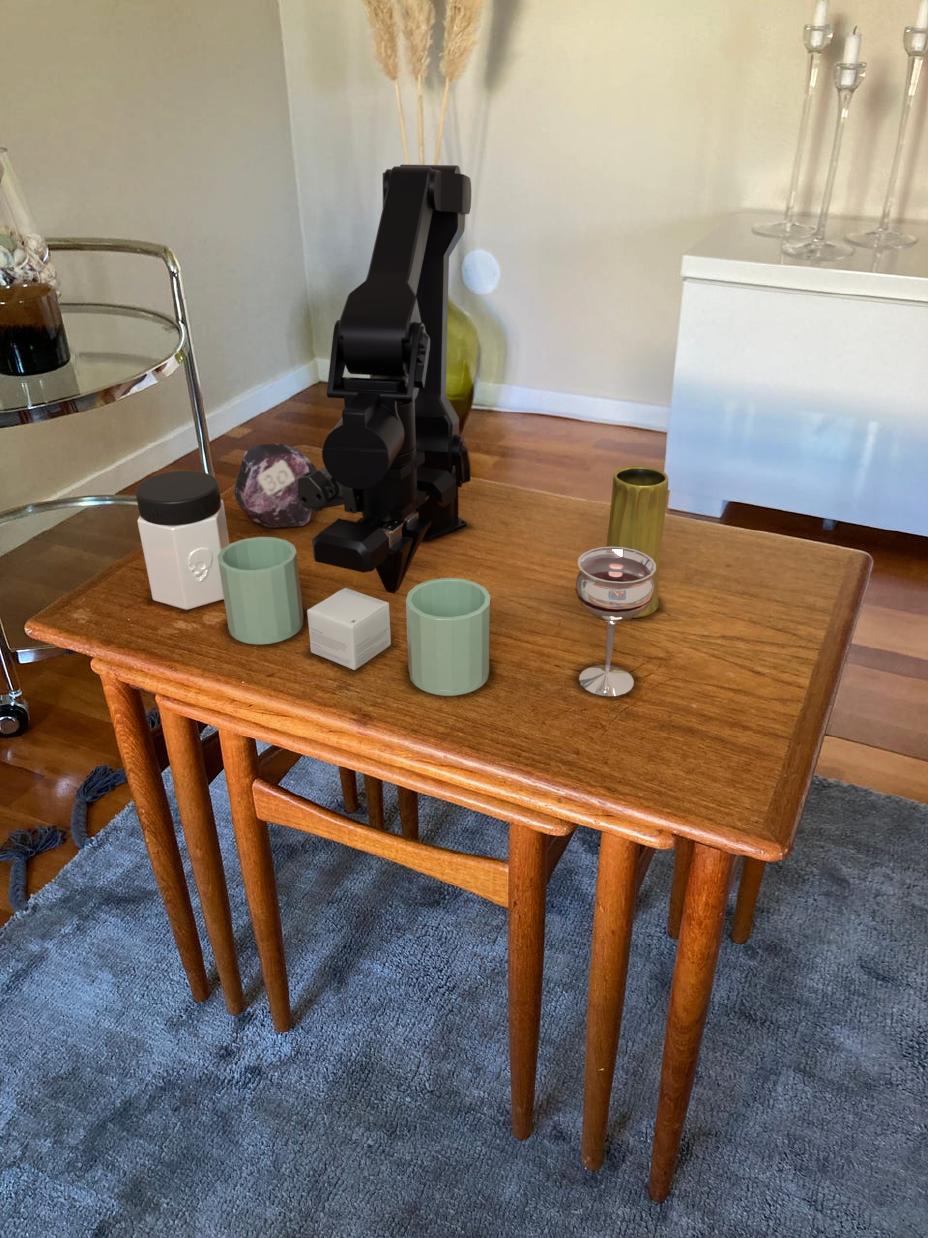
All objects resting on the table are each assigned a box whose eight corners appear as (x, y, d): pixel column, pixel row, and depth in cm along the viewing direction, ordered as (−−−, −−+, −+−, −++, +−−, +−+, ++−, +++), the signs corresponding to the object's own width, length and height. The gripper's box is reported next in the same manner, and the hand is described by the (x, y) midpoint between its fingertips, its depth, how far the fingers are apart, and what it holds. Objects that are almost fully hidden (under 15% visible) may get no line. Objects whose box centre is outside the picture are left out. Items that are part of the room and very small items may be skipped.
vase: (664, 596, 101) (680, 469, 94) (648, 624, 96) (663, 492, 89) (608, 585, 103) (619, 459, 96) (590, 611, 98) (600, 481, 91)
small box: (393, 645, 93) (390, 601, 90) (354, 672, 89) (351, 627, 86) (348, 627, 96) (344, 584, 93) (308, 653, 92) (304, 609, 89)
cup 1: (279, 598, 101) (271, 530, 97) (317, 627, 96) (310, 555, 92) (215, 622, 97) (203, 551, 93) (251, 653, 92) (241, 579, 88)
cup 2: (454, 642, 93) (453, 569, 89) (505, 675, 89) (507, 600, 84) (393, 670, 89) (389, 595, 85) (443, 706, 84) (442, 628, 80)
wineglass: (656, 694, 86) (671, 576, 80) (586, 707, 84) (595, 588, 78) (624, 655, 91) (636, 541, 85) (558, 666, 90) (564, 552, 84)
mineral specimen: (215, 523, 112) (220, 436, 111) (261, 522, 122) (267, 442, 121) (289, 533, 109) (296, 444, 108) (330, 531, 119) (337, 450, 118)
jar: (166, 618, 97) (145, 510, 91) (141, 585, 103) (120, 481, 97) (249, 594, 102) (234, 489, 95) (220, 563, 107) (205, 463, 101)
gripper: (360, 403, 100) (369, 538, 108) (254, 467, 85) (273, 617, 93) (457, 419, 96) (458, 557, 104) (363, 488, 81) (373, 643, 89)
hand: (392, 590), depth 98 cm, fingers closed
